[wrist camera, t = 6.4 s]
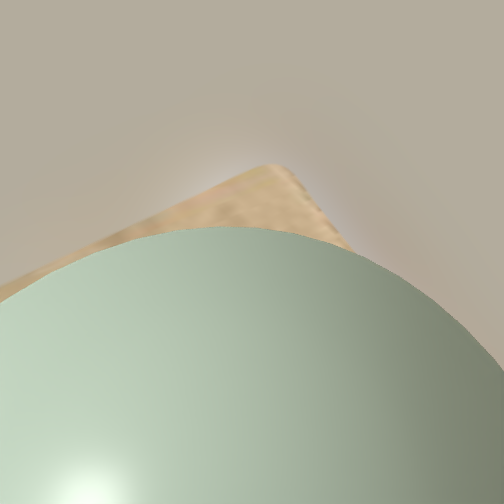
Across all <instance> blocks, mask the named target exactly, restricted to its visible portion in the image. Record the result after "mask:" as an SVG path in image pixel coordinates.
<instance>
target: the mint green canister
mask: <svg viewBox="0 0 504 504" xmlns="http://www.w3.org/2000/svg"><path fill="white" fill-rule="evenodd" d="M0 504H504V371H503V370H502V368H501V367H500V366H499V365H498V363H497V362H496V361H495V360H494V359H493V357H492V356H491V355H490V354H489V353H488V352H487V351H486V350H485V349H484V348H483V347H482V346H481V345H480V343H479V342H477V340H476V339H475V338H474V337H473V336H472V335H471V334H470V333H469V332H468V331H467V330H466V329H465V328H464V327H463V326H462V325H461V324H460V323H459V322H458V321H457V320H455V319H454V318H453V317H452V316H451V315H450V314H449V313H447V312H446V311H445V310H444V309H443V308H442V307H440V306H439V305H438V304H437V303H436V302H435V301H433V300H432V299H431V298H429V297H428V296H426V295H425V294H424V293H422V292H421V291H420V290H418V289H417V288H415V287H414V286H412V285H411V284H410V283H408V282H407V281H405V280H404V279H402V278H401V277H399V276H398V275H396V274H394V273H392V272H391V271H389V270H387V269H385V268H383V267H381V266H380V265H378V264H376V263H374V262H372V261H370V260H369V259H367V258H365V257H362V256H360V255H357V254H355V253H353V252H350V251H348V250H345V249H343V248H340V247H338V246H335V245H333V244H330V243H327V242H323V241H320V240H316V239H312V238H309V237H305V236H301V235H298V234H294V233H288V232H281V231H274V230H268V229H261V228H246V227H209V228H197V229H186V230H177V231H172V232H167V233H162V234H158V235H153V236H148V237H143V238H138V239H135V240H132V241H129V242H126V243H123V244H120V245H117V246H114V247H111V248H108V249H105V250H102V251H99V252H96V253H93V254H91V255H89V256H87V257H84V258H82V259H80V260H78V261H76V262H73V263H71V264H69V265H67V266H65V267H62V268H60V269H58V270H56V271H54V272H51V273H50V274H48V275H46V276H44V277H43V278H41V279H39V280H38V281H36V282H34V283H33V284H31V285H29V286H28V287H26V288H24V289H22V290H21V291H19V292H17V293H16V294H14V295H12V296H11V297H9V298H7V299H6V300H4V301H3V302H1V303H0Z"/></svg>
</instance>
